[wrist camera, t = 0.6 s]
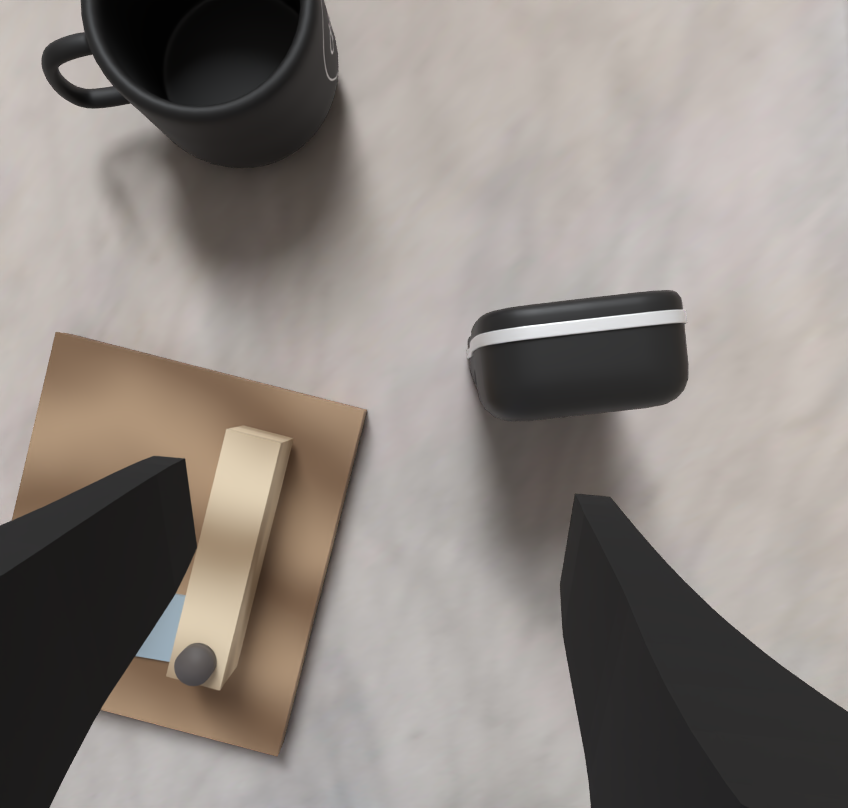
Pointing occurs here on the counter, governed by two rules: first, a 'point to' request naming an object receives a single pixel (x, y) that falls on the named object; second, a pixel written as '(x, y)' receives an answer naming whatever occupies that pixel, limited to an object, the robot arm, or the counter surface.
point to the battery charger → (580, 356)
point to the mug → (210, 71)
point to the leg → (229, 556)
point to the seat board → (201, 514)
